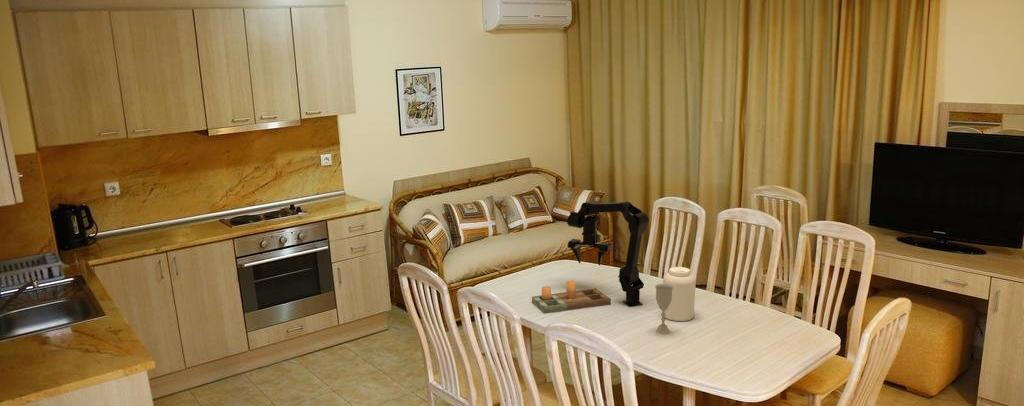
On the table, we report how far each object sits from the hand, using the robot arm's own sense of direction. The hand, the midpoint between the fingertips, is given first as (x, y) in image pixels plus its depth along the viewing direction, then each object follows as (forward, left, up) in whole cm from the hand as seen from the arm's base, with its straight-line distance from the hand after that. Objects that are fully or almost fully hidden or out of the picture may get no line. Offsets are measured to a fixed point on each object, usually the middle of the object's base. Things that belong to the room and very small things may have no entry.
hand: (589, 264), depth 331 cm
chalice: (-52, -7, -13) cm, 54 cm away
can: (-40, -21, -13) cm, 47 cm away
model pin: (-7, +23, -13) cm, 27 cm away
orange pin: (-10, +13, -11) cm, 20 cm away
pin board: (-10, +13, -13) cm, 21 cm away
